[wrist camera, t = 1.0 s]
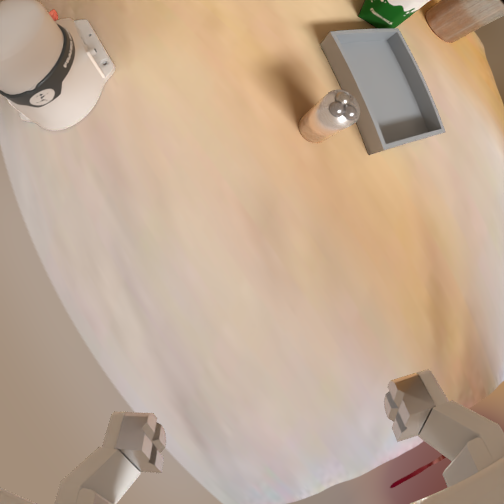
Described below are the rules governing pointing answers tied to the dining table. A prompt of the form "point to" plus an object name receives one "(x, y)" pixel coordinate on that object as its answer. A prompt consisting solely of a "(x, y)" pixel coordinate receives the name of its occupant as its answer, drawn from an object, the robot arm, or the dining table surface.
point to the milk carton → (389, 12)
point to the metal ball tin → (329, 116)
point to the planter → (462, 17)
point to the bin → (383, 86)
